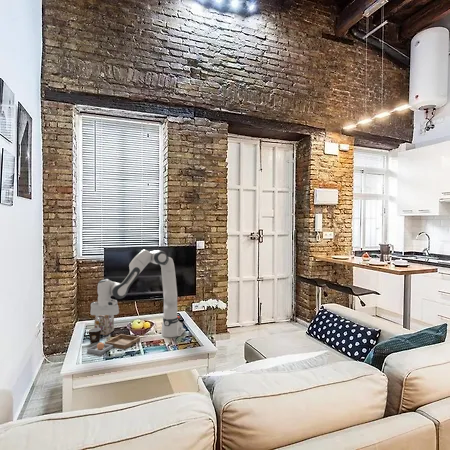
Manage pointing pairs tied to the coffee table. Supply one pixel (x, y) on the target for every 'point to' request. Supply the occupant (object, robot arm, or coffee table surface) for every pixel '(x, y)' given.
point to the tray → (98, 352)
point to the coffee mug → (94, 335)
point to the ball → (100, 346)
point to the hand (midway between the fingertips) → (105, 320)
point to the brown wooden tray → (123, 341)
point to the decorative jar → (104, 324)
